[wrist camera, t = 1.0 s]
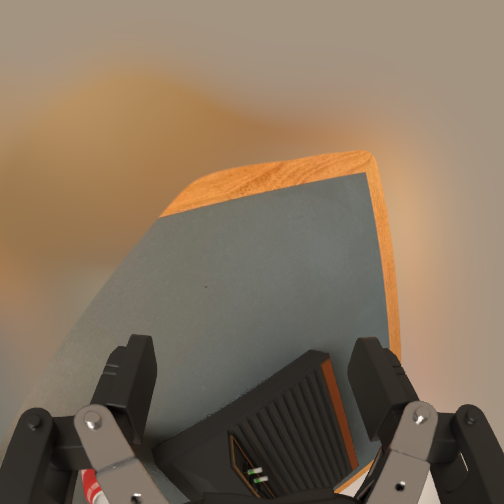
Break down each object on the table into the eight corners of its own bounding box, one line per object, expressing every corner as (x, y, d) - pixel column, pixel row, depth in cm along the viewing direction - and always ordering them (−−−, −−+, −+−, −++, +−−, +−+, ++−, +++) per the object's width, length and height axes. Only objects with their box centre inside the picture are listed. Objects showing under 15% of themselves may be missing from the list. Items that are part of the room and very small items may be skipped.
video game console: (338, 451, 51) (374, 475, 42) (230, 527, 40) (258, 562, 31) (301, 341, 44) (352, 363, 35) (144, 437, 33) (167, 489, 24)
